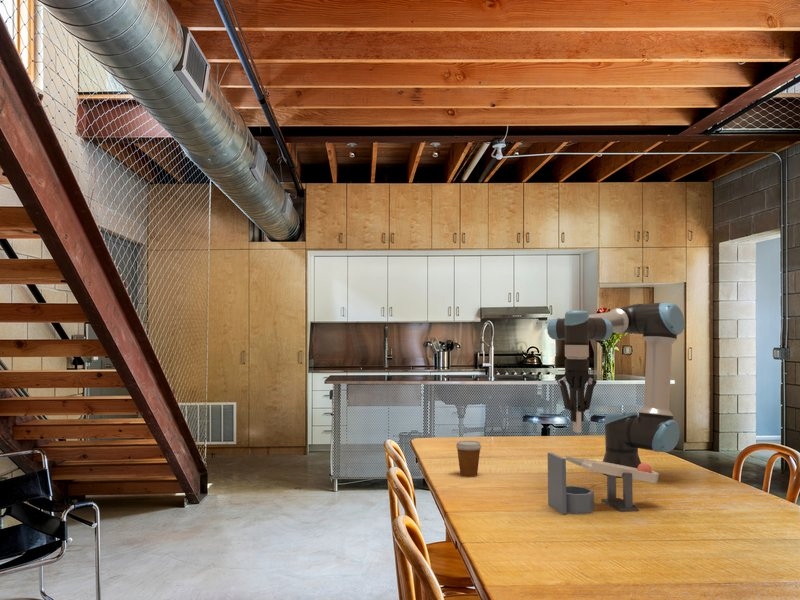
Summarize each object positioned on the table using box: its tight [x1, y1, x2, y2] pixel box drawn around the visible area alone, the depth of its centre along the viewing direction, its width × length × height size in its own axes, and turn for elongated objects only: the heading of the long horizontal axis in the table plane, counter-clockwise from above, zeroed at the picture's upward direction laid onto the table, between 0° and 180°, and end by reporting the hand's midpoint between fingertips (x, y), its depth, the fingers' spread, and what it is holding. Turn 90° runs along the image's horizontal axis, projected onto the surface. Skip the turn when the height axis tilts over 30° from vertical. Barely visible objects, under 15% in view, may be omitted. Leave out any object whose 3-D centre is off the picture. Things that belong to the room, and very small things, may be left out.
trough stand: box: [601, 473, 640, 513], centre depth 191 cm, size 6×11×11 cm, turn 11°
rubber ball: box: [638, 462, 652, 473], centre depth 192 cm, size 4×4×4 cm
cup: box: [547, 452, 595, 515], centre depth 188 cm, size 12×11×16 cm
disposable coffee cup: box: [455, 440, 482, 478], centre depth 232 cm, size 10×10×12 cm
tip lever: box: [565, 455, 660, 485], centre depth 196 cm, size 22×18×4 cm
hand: (577, 431), depth 199 cm, fingers closed
